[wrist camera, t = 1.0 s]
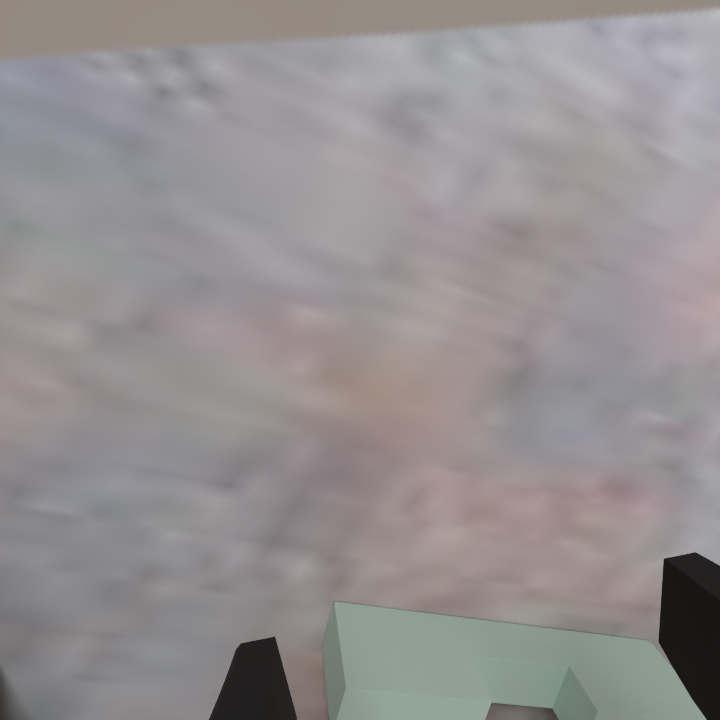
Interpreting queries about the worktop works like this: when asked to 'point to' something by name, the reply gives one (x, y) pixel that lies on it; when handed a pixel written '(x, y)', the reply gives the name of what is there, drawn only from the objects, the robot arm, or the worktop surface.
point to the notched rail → (489, 670)
